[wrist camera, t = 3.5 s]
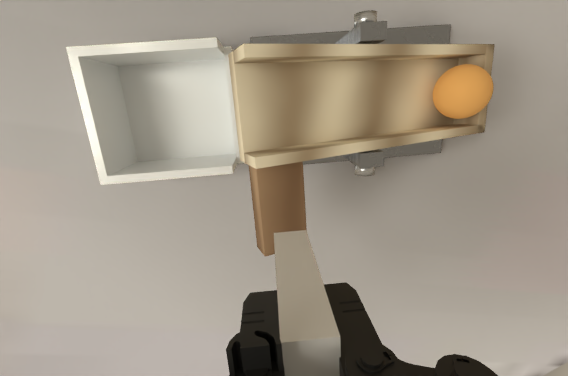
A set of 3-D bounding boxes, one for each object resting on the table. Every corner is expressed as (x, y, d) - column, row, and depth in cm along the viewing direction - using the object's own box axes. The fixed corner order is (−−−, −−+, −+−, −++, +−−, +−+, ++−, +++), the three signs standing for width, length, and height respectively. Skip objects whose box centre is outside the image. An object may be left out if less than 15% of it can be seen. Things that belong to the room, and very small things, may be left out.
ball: (423, 68, 22) (460, 62, 18) (467, 66, 22) (511, 59, 19) (420, 119, 23) (455, 122, 19) (462, 115, 23) (503, 117, 20)
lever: (250, 248, 20) (266, 269, 17) (228, 54, 17) (243, 43, 14) (442, 197, 27) (475, 207, 24) (455, 52, 23) (494, 44, 21)
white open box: (111, 59, 25) (65, 47, 19) (234, 51, 25) (225, 36, 20) (134, 167, 27) (100, 184, 22) (245, 158, 28) (241, 172, 22)
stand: (262, 166, 28) (262, 192, 20) (250, 38, 25) (244, 8, 17) (437, 151, 29) (505, 171, 21) (446, 26, 26) (530, -9, 18)
